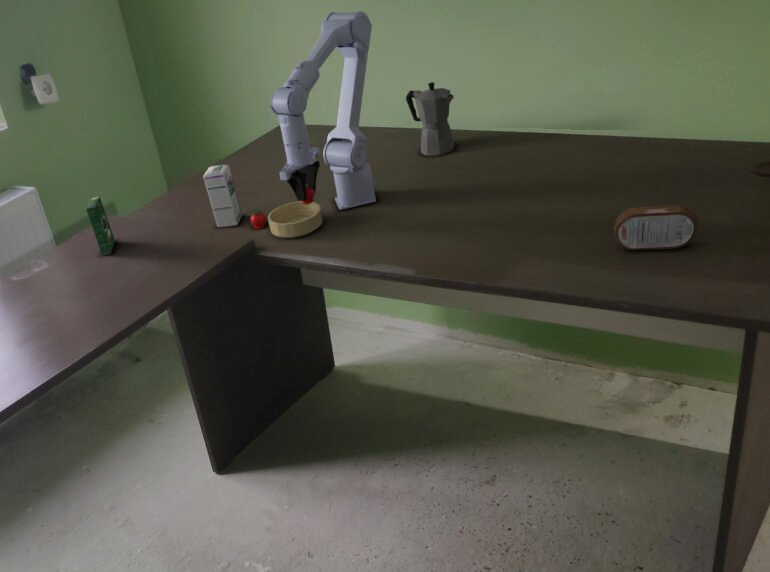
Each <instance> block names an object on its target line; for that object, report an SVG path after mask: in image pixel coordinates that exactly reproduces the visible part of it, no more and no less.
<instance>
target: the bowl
mask: <svg viewBox="0 0 770 572" xmlns="http://www.w3.org/2000/svg"><path fill="white" fill-rule="evenodd" d="M267 220H268V221H267V222H268V226H269V229H270V233H271V234H272V235H274V236H276V237H280V238H283V239H284V238H285V239H292V238H298V237H302V236H303V237H304V236H306V235H308V234H310V233H312V232H314V231H315V230H317V229H318V228H319V227H320V226H321V225H322V224H323V222H324V218H323V212H322V208H321V205H320V204H319V203H318V202H317V201H313V202H312V203H311V204H306V205H305V204H302V201H298V200H297V201H292V202H287V203H284V204H282V205H279V206H277V207H275V208H274V209H272V210H271V211H270V212H269V213H268V216H267Z"/></svg>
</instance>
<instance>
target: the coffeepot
mask: <svg viewBox="0 0 770 572" xmlns="http://www.w3.org/2000/svg"><path fill="white" fill-rule="evenodd" d="M427 85H428V89H426V90H423V91H422V90H414V89H413V90H412V89H411V90H408V92H407V94H406V95H405V101H406V104H407V106H408V109H409V111H410V114H411V117H412V118H413V121H414V122H421V123H422V128H421V135H420V137H421V138H420V139H421V140H420V153H421V154H422V155H424V156H427V157H436V156H442V155H445V154H448V153H450V152H451V151H453V150H454V148H455V141H454V137H453V134H452V130H451V126H450V124H449V120H448V118H449V116H450V106H451V105H450V104H451V102H452V100H454V99H455V95H454V94H452V93H451V90H450V89H447V88H445V87H440V88H439V87H438V88H435V82H434V81H433V82H429V83H428V84H427ZM413 98H414V100H413ZM414 101H415V105H416V107H415V105H414ZM417 113H418V115H417Z"/></svg>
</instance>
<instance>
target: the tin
mask: <svg viewBox="0 0 770 572" xmlns="http://www.w3.org/2000/svg"><path fill="white" fill-rule="evenodd" d="M613 227H614V228H613V229H614V237H615V240H616V242H617V243H618V244H619V245H620V246H621V247H623V248H624V249H627V250H630V251H642V250H643V251H645V250H647V251H649V250H674V249H680V248H683V247H685V246H687V245H688V244H690V243H691V242H692V241H693V240H694V239H695V237H696V235H697V233H698V227H699V219H698V216H697V214H696V213H695V211H694V210H693V209H691V208H690V207H687V206H684V205H657V206H638V207H637V206H635V207H631V208H629V209H626V210H625V211H623V212H622V213H620V214H619V216H618V217H617V218H616V220H615V222H614V226H613Z"/></svg>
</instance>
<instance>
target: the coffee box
mask: <svg viewBox="0 0 770 572" xmlns="http://www.w3.org/2000/svg"><path fill="white" fill-rule="evenodd" d="M85 212H86V214H87V217H88V220H89V222H90V225H91V229H92V232H93V235H94V238H95V239H96V242H97V246H98V249H99V252H100V254H101V256H106V255H110V254H112V251H113V248H114V245H115V243H116V240H115V235H114V233H113V231H112V228H111V225H110V221H109V220H108V216H107V213H106V211H105V206H104V205H103V202H102V199H101V196H100V195H98V196H94V197H90V199H89V200H88V203H87V205H86V207H85Z"/></svg>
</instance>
